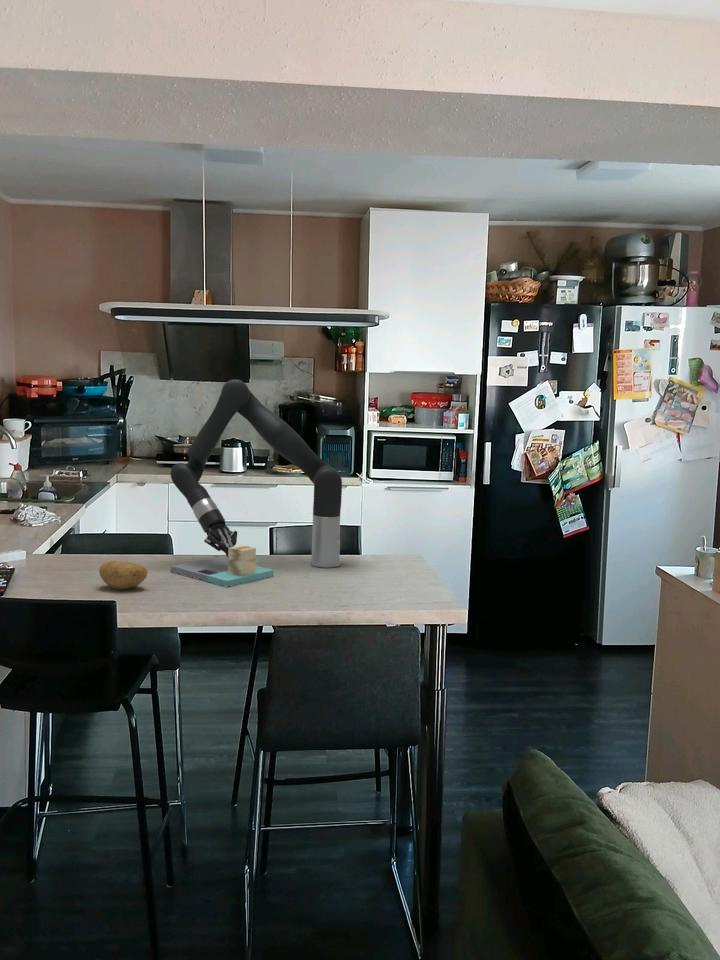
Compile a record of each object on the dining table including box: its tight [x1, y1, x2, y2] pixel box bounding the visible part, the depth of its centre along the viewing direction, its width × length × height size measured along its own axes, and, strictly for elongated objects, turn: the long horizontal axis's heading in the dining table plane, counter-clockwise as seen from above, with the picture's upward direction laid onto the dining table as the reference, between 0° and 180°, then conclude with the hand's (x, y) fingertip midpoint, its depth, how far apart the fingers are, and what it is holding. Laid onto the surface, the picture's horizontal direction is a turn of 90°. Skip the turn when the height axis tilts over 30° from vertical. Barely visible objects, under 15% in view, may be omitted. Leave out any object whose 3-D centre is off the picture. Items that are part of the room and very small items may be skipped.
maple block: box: [227, 544, 257, 576], centre depth 271 cm, size 6×6×8 cm
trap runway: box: [170, 556, 275, 588], centre depth 277 cm, size 26×20×2 cm
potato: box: [98, 560, 148, 590], centre depth 256 cm, size 10×14×8 cm
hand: (234, 558), depth 273 cm, fingers closed
